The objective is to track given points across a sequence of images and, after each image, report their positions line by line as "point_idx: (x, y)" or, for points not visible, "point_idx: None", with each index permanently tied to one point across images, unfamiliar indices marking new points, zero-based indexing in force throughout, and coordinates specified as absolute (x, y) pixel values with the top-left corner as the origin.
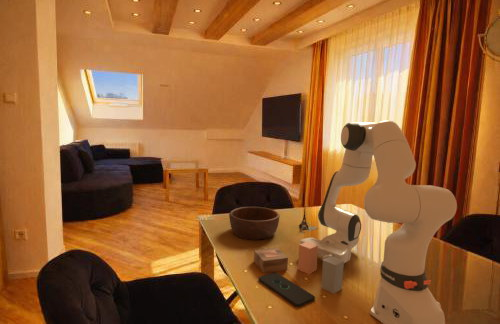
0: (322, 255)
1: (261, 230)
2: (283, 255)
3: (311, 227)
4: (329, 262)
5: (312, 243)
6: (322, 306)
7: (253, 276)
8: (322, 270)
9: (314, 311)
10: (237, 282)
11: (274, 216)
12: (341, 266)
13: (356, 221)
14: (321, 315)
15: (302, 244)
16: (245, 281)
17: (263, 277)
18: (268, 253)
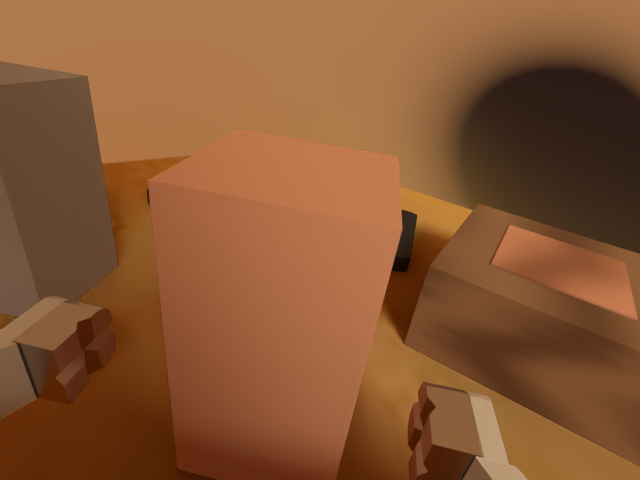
0: (74, 325)
1: None
2: (488, 281)
3: None
4: (32, 68)
5: (272, 201)
6: (112, 190)
7: (452, 236)
8: (99, 158)
9: (143, 174)
10: (446, 203)
11: None
12: None
13: None
14: (117, 169)
15: (374, 162)
16: (436, 212)
17: (402, 218)
18: (571, 259)
